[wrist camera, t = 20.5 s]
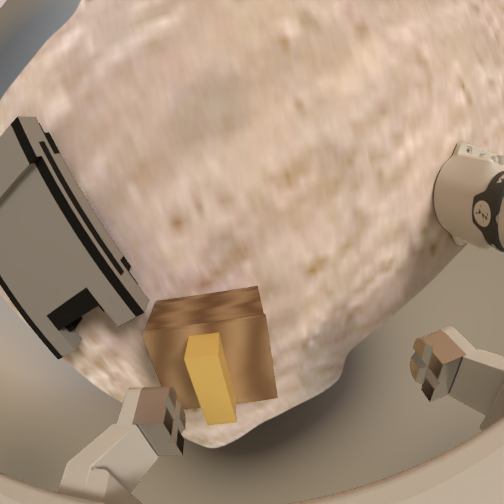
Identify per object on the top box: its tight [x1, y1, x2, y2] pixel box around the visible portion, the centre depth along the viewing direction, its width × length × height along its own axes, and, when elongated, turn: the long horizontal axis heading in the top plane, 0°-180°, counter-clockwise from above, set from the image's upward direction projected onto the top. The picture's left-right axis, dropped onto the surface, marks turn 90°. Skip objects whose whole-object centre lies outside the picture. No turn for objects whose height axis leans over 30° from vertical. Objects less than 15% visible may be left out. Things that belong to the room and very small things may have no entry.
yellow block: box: [184, 332, 237, 425], centre depth 37 cm, size 4×12×5 cm, turn 8°
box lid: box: [142, 314, 278, 409], centre depth 40 cm, size 16×14×1 cm
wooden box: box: [145, 286, 264, 330], centre depth 44 cm, size 16×14×8 cm
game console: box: [0, 117, 149, 359], centre depth 37 cm, size 21×32×8 cm, turn 29°
